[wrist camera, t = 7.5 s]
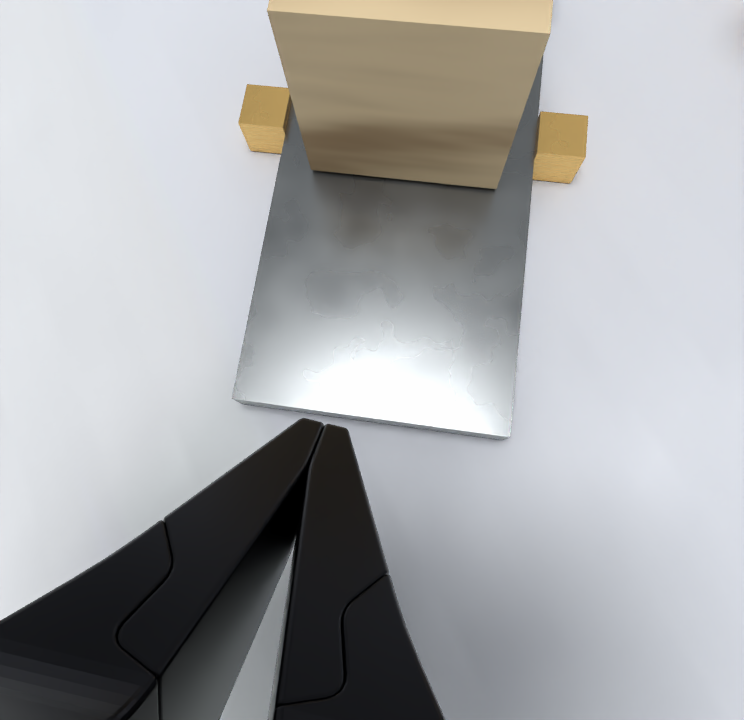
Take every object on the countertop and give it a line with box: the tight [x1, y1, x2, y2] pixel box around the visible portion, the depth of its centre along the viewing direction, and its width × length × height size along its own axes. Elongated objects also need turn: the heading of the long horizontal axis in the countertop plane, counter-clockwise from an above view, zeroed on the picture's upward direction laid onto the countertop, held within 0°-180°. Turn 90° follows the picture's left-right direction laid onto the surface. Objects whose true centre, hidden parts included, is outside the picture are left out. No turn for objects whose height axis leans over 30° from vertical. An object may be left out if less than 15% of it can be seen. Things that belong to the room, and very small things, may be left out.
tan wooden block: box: [267, 0, 553, 189], centre depth 19 cm, size 6×8×8 cm
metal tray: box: [232, 56, 588, 440], centre depth 23 cm, size 22×15×4 cm
